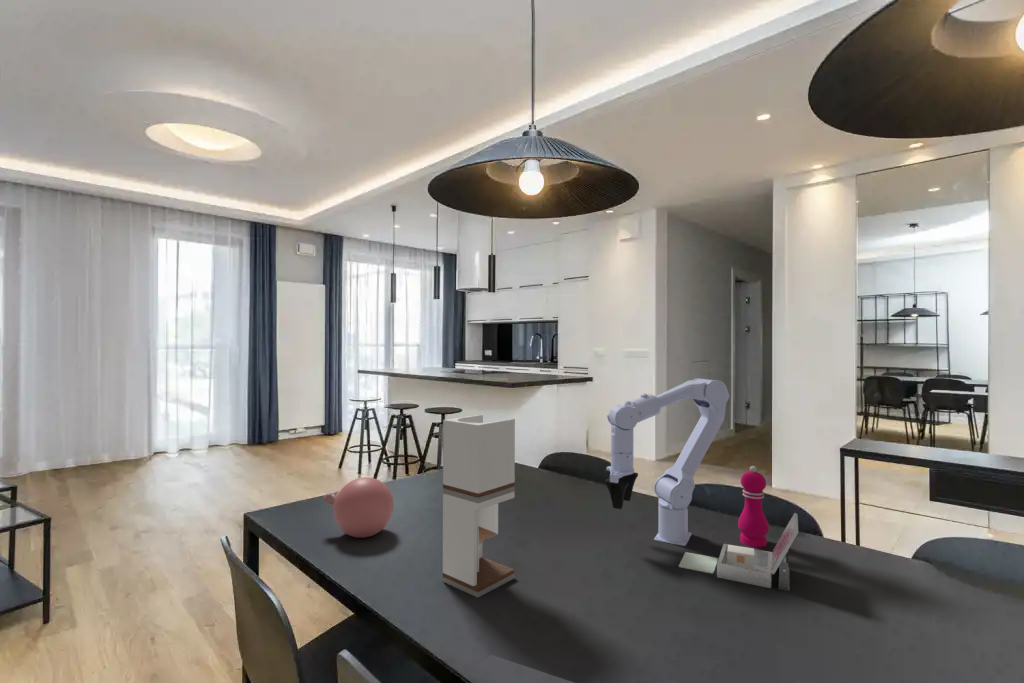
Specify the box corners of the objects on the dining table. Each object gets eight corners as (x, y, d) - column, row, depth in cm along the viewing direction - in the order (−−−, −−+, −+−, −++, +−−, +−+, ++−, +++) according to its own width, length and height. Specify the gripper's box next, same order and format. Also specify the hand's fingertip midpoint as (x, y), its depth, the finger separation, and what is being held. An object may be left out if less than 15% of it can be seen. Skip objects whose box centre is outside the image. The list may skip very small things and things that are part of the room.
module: (728, 563, 119) (728, 544, 119) (754, 568, 117) (754, 548, 117) (727, 571, 115) (727, 551, 115) (754, 575, 113) (754, 555, 113)
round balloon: (342, 521, 148) (342, 468, 148) (403, 528, 142) (404, 473, 142) (306, 541, 133) (306, 482, 133) (373, 550, 127) (373, 488, 127)
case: (723, 556, 124) (723, 536, 124) (789, 569, 117) (789, 547, 117) (717, 578, 112) (717, 555, 112) (789, 593, 106) (789, 569, 106)
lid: (794, 512, 117) (797, 514, 116) (772, 550, 119) (775, 552, 118) (795, 530, 105) (798, 532, 105) (770, 572, 107) (773, 574, 107)
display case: (477, 598, 103) (478, 425, 103) (442, 582, 110) (443, 420, 110) (514, 578, 112) (514, 419, 112) (479, 564, 119) (480, 414, 119)
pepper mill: (772, 549, 128) (772, 470, 128) (741, 547, 129) (741, 468, 130) (764, 539, 135) (764, 463, 135) (735, 536, 137) (735, 462, 137)
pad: (685, 553, 125) (685, 551, 125) (718, 559, 122) (718, 558, 122) (678, 567, 118) (678, 565, 118) (713, 574, 114) (713, 572, 114)
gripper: (615, 445, 141) (615, 494, 141) (598, 455, 128) (597, 509, 128) (640, 448, 138) (640, 498, 137) (625, 458, 125) (625, 514, 125)
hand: (621, 504), depth 133 cm, fingers open, 7 cm apart
